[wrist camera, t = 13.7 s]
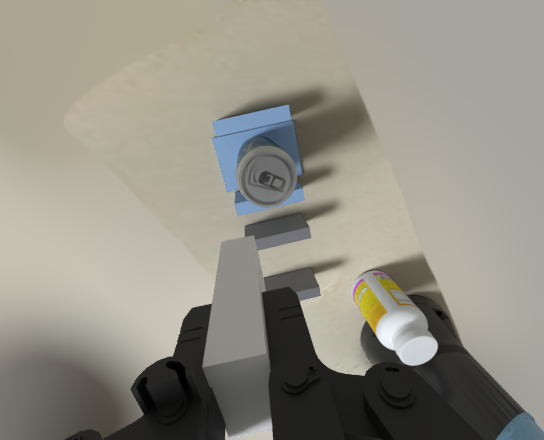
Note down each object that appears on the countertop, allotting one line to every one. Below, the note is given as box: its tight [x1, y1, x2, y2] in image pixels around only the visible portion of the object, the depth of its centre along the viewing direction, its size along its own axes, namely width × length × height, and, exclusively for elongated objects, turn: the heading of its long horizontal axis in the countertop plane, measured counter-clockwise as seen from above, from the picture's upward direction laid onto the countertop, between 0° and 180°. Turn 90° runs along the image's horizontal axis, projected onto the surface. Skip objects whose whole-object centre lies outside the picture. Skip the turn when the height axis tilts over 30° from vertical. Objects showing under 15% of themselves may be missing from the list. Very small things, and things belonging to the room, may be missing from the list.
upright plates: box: [212, 105, 321, 301], centre depth 34 cm, size 24×8×5 cm, turn 12°
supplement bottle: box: [352, 271, 438, 366], centre depth 37 cm, size 7×7×13 cm
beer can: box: [236, 136, 297, 208], centre depth 28 cm, size 5×5×12 cm
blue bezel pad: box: [212, 120, 302, 192], centre depth 34 cm, size 7×10×1 cm
